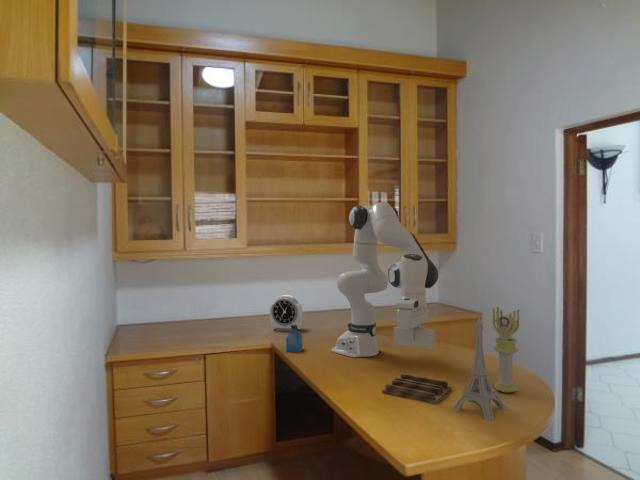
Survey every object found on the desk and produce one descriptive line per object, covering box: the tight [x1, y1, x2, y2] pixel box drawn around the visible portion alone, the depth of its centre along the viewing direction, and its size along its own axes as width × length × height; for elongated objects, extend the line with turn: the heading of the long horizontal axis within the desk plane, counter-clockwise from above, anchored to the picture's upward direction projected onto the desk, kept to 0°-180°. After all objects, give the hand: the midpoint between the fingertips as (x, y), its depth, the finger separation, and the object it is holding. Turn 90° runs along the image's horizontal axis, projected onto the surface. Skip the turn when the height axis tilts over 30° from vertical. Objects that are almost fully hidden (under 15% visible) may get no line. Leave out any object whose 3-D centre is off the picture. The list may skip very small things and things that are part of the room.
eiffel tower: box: [450, 317, 508, 422], centre depth 150 cm, size 13×13×30 cm
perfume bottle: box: [285, 325, 303, 353], centre depth 223 cm, size 6×6×12 cm
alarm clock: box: [269, 294, 303, 332], centre depth 265 cm, size 18×8×20 cm, turn 76°
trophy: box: [492, 306, 520, 394], centre depth 165 cm, size 8×8×30 cm
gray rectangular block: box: [393, 325, 436, 350], centre depth 163 cm, size 14×3×6 cm, turn 57°
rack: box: [381, 373, 452, 405], centre depth 166 cm, size 20×16×3 cm
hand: (413, 339), depth 163 cm, fingers closed on gray rectangular block, 3 cm apart
